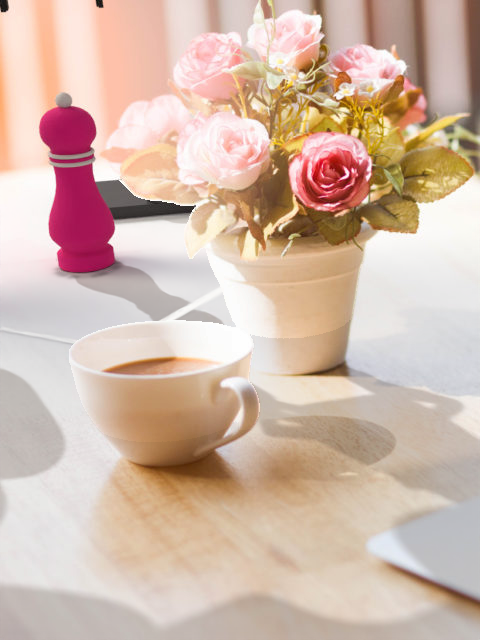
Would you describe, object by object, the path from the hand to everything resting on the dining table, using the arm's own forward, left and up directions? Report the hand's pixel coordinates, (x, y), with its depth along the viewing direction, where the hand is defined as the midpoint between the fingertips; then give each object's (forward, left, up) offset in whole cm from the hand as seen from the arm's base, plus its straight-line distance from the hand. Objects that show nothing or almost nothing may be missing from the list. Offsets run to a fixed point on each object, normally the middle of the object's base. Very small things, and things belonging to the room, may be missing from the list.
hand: (53, 8), depth 127 cm
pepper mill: (0, 0, -29) cm, 29 cm away
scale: (+6, +24, -29) cm, 38 cm away
